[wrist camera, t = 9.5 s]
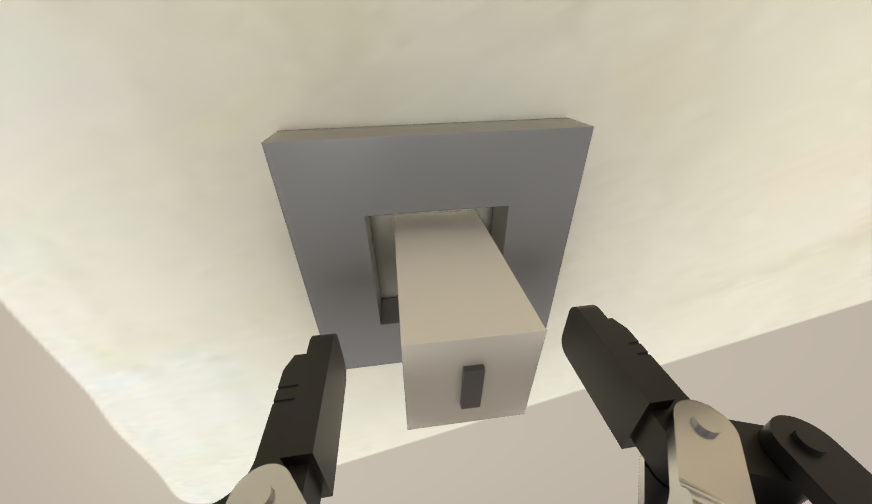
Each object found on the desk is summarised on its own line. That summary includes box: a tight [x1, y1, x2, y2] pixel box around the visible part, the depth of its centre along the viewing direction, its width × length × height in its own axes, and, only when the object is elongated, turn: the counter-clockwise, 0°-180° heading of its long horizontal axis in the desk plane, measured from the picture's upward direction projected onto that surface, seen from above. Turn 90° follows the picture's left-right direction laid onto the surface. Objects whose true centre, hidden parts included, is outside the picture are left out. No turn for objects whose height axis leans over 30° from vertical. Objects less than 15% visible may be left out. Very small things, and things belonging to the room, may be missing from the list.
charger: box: [394, 210, 547, 430], centre depth 13 cm, size 4×4×8 cm
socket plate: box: [262, 118, 594, 369], centre depth 15 cm, size 12×12×2 cm
